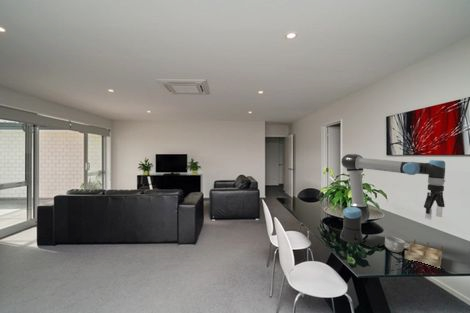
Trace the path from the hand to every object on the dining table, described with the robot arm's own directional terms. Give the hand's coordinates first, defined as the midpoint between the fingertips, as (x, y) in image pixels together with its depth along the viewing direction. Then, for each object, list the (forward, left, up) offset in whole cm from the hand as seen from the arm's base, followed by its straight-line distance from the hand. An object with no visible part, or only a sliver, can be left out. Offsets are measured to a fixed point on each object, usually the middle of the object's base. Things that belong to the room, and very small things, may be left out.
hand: (433, 217), depth 136 cm
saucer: (-17, +8, -26) cm, 32 cm away
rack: (-3, -7, -25) cm, 26 cm away
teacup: (-18, -10, -25) cm, 33 cm away
